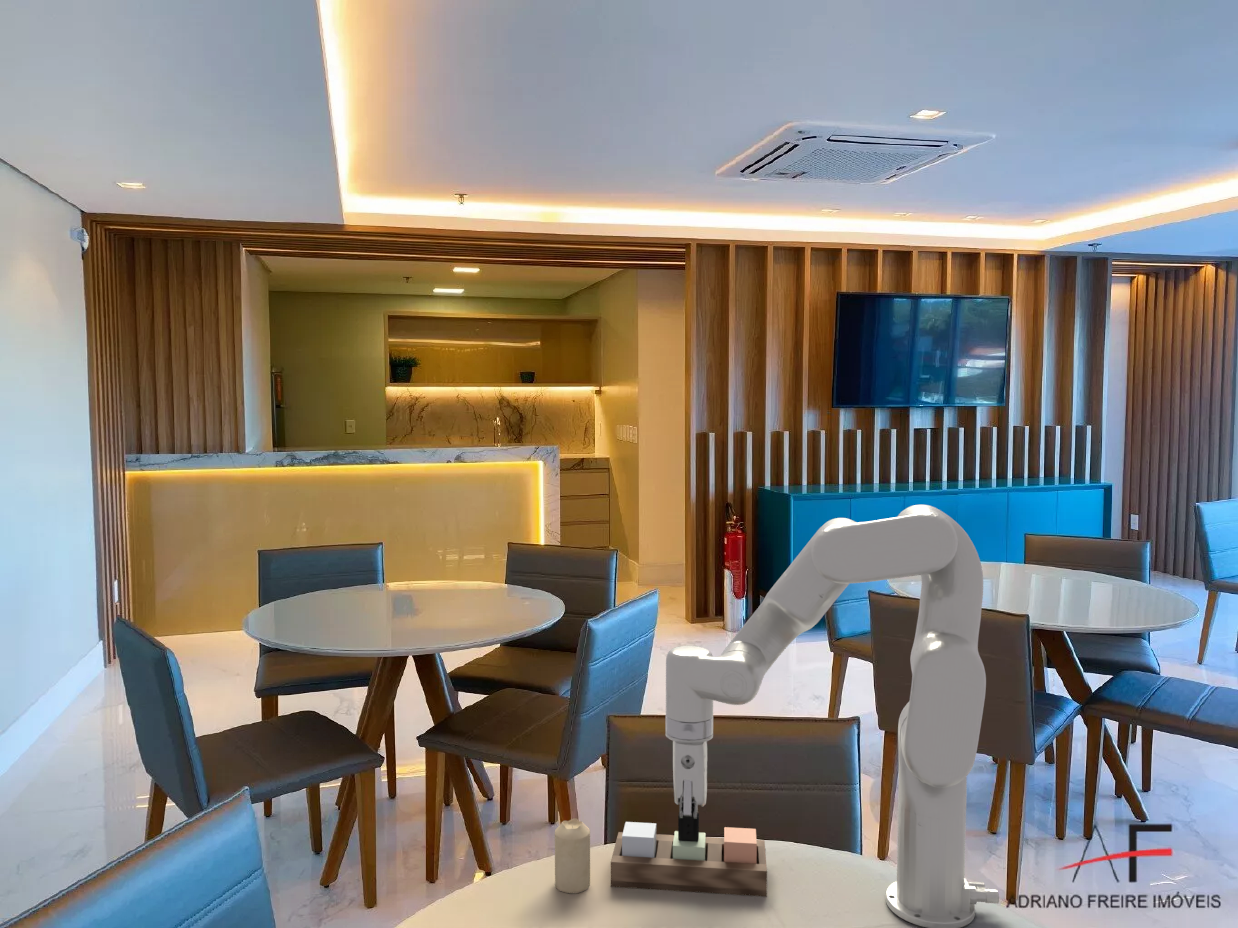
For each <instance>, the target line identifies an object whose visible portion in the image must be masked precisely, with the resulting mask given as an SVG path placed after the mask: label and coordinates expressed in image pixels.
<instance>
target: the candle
mask: <svg viewBox="0 0 1238 928" xmlns="http://www.w3.org/2000/svg"><path fill="white" fill-rule="evenodd" d="M590 884H591V830H590V828H589V827H588V826H587V825H586V824H585V823H584V822H583V821H581V820H579V819H578V818H576V817H575V818H572V819H571V818H570V819H569V820H563V821H561V823H560V824H559V825H558V826H557V827H556V828H555V830H554V885H555V888H556V889H557V890H558V891H560V893H561V892H562V893H564V894H579V893H582V892H584V891H586V890H587V889H589V887H590V886H591V885H590Z"/></svg>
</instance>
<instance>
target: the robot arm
mask: <svg viewBox="0 0 1238 928" xmlns="http://www.w3.org/2000/svg"><path fill="white" fill-rule="evenodd" d="M916 576H920V578H921V579H920V580H921V585H920V587H921V588H920V596H919V607H918V608H919V609H918V615H917V616H918V617H917V621H916V627H915V635H914V640H913V644H912V648H911V650H910V651H911V652H910V658H909V659H910V670H911V676H912V677H911V687H910V694H909V701H908V702H907V703H906V705H904V706H903V709H902V710H901V713H900V715H899V718H898V724H897V725H898V727H897V743H898V751H897V752H898V794H897V795H898V797H897V840H896V841H897V843H896V845H897V847H896V849H897V850H896V881H894V882H892V883H891V884H890V885H889V886H888V887H887V888H886V890H885V902H886V904H887V906H888V909H890V910H891V912H893V914H895V915H896V916H898V917H899V918H900V919H902V920H904V921H906V922H908V923H910V924H913V925H916V926H919V927H922V928H963V927H966V926H968V925H969V924H970V923H972V922H973V921H974V919H975V916H976V905H977V904H978V903H985V904H995V905H996V904H997V905H998V904H1000V894H999V891H998V889H997V888H996V889H995V888H986V885H985V882H984V881H968V879H967V878H966V877H965V875H966V873H965V872H966V871H965V870H966V869H965V868H966V828H967V827H966V825H967V824H966V822H967V815H966V814H967V798H968V797H967V796H968V794H967V786H968V785H967V777H968V775H969V774H970V773H971V771H972V769H973V767H974V764H975V761H976V756H977V751H978V746H979V740H980V733H981V727H982V722H983V721H982V719H983V713H984V706H985V701H986V700H985V699H986V691H987V690H986V688H987V675H986V670H985V666H984V663H983V660H982V658H981V656H980V652H979V648H978V647H979V634H980V627H981V619H982V607H983V599H984V574H983V567H982V563H981V559H980V557H979V553H978V551H977V549H976V546H975V545H974V543H973V541H972V540H971V538H970V536H969V534H968V533H967V532H966V531H965V530H964V528H963V527H962V526H961V525H960V524H959V523H958V522H957V521H956V520H954V519H953V517H951V516H950V515H948V514H947V513H945V512H944V511H942V509H938V508H937V507H935V506H932V505H929V504H915V505H914V504H913V505H910V506H908V507H906V508H905V509H903V510H902V511H900V513H898V515H897V516H895V517H889V518H881V519H877V520H876V519H875V520H869V521H859V522H857V521H855V520H852V519H850V518H848V517H847V518H846V517H837V518H836V517H835V518H832V519H829V520H828V521H826V522H825V523H824V524H823V525H822V526H820V527H819V528H818V529H817V530H816V532H815V533H814V534H813V536H812V537H811V538H810V540H809V541H808V542H807V543H806V545H805V546H804V547H803V548H802V550H801V551H800V552H799V553H798V555H796V557H795V558H794V559H793V561H792V562H791V563H790V565H789V566H788V567H787V568H786V570H785V571H784V572H783V573H782V574H781V576H780V577H779V578H778V579H777V580H776V582H775V583H774V584H773V586H772V587H771V588H770V589H769V591H768V592H767V593H766V595H765V597H764V599H763V600H762V601H761V603H760V605H759V606H757V607H758V608H756V610H755V611H754V612H753V613H752V615H751V616H750V617H749V619H748V620H746V622H745V624H744V625H743V626H742V627H741V628H740V629H739V631H737V633H736V634H735V636H733V638H732V640H731V641H730V642H729V643H728V644H727V646H726V647H725V649H724V650H723V651H722V653H721V654H720V655H718V656H714V655H713V653H712V652H711V651H710V650H709V649H708V648H705V647H702V646H697V645H696V646H695V645H681V646H677V647H674V648H671V649H669V651H668V652H667V654H666V659H665V737H666V738H667V739H668V740H671V741H672V771H673V772H672V774H673V775H672V778H673V797H674V799H673V800H674V803H675V804H676V805H677V806H678V805H679V812H678V815H677V817H678V821H677V823H678V825H677V827H678V828H677V829H678V830H677V831H678V840H679V841H690V842H698V839H699V832H700V831H699V830H700V813H699V811H698V810H699V809H698V808H699V807H698V806H701V807H704V806H705V805H706V804H707V796H708V795H707V793H708V742H709V741H710V740H712V739H713V738H714V701H715V702H718V703H722V704H725V705H731V706H742V705H743V706H744V705H746V704H749V702H751V701H753V700H754V699H755V698H756V696H757V695H758V694H759V691H760V688H761V686H762V682H763V679H764V678H765V677H764V676H765V675H766V673H768V671H769V670H770V668H771V667H772V666H773V665H774V663H776V661H777V660H778V658H780V656H781V655H782V653H784V652H785V650H786V649H787V648H788V646H789V645H790V644H792V642H793V641H794V640H795V639H796V638H797V637H798V636H800V635H801V634H803V633H805V632H807V631H809V630H811V629H812V628H813V627H815V625H817V624H818V623H819V622H820V621H821V619H822V618H823V616H824V615H825V614H826V613H827V612H828V611H829V609H830V608H831V606H832V605H833V604H834V603H835V602H836V601H837V599H838V598H839V597H840V595H842V594H843V592H844V591H845V589H846V588H847V587H848V586H849V585H850V584H861V583H871V582H880V581H885V580H894V579H901V578H908V577H916Z"/></svg>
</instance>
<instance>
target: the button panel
mask: <svg viewBox="0 0 1238 928" xmlns="http://www.w3.org/2000/svg"><path fill="white" fill-rule="evenodd" d="M622 834H623V831H618V833H617V837H616V841H615V844H614V846H613V847H614V848H613V852H612V854H611V855H612V856H611V859H610V887H611V888H622V889H623V888H624V889H638V890H639V889H640V890H655V891H670V892H684V893H685V892H687V893H704V894H719V895H733V896H751V897H763V898H765V897H766V898H767V897H768V891H767V890H768V871H767V870H768V867H767V854H766V841H765V840H764V839H756V841H757V864H752V863H735V862H724V837H712V836H706V861H701V860H684V859H673V840H674V835H673V834H657V833H656V855H655V858H650V857H633V856H622Z"/></svg>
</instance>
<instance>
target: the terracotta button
mask: <svg viewBox="0 0 1238 928" xmlns="http://www.w3.org/2000/svg"><path fill="white" fill-rule="evenodd" d="M723 829H724V830H723V831H724V832H723V833H724V835H723V836H724V837H723V838H724V862H735V863H752V864H757V841H756V840H757V829H756V828H750V827H748V828H747V827H746V828H744V827H729V826H727V827H726V826H725V827H724V828H723Z"/></svg>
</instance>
